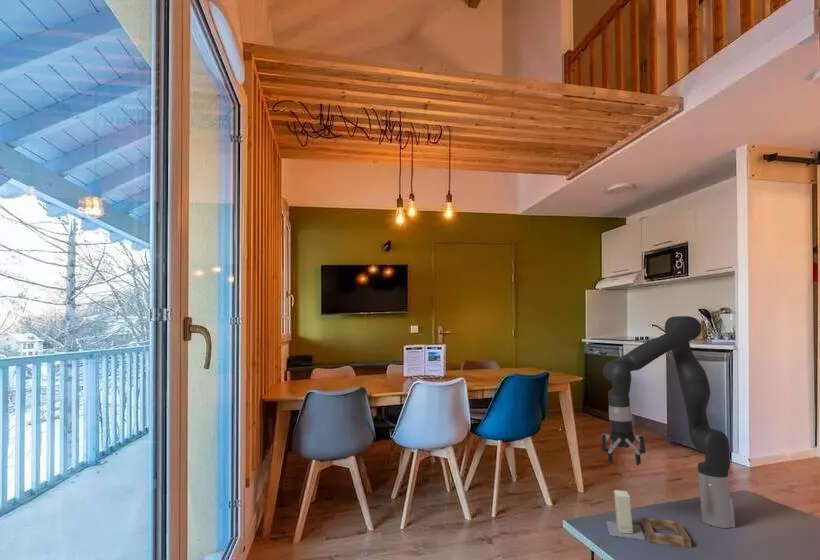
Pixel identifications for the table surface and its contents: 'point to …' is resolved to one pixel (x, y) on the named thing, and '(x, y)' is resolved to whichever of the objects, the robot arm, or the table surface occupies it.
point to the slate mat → (615, 532)
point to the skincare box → (623, 511)
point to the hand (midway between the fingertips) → (624, 464)
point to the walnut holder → (666, 539)
